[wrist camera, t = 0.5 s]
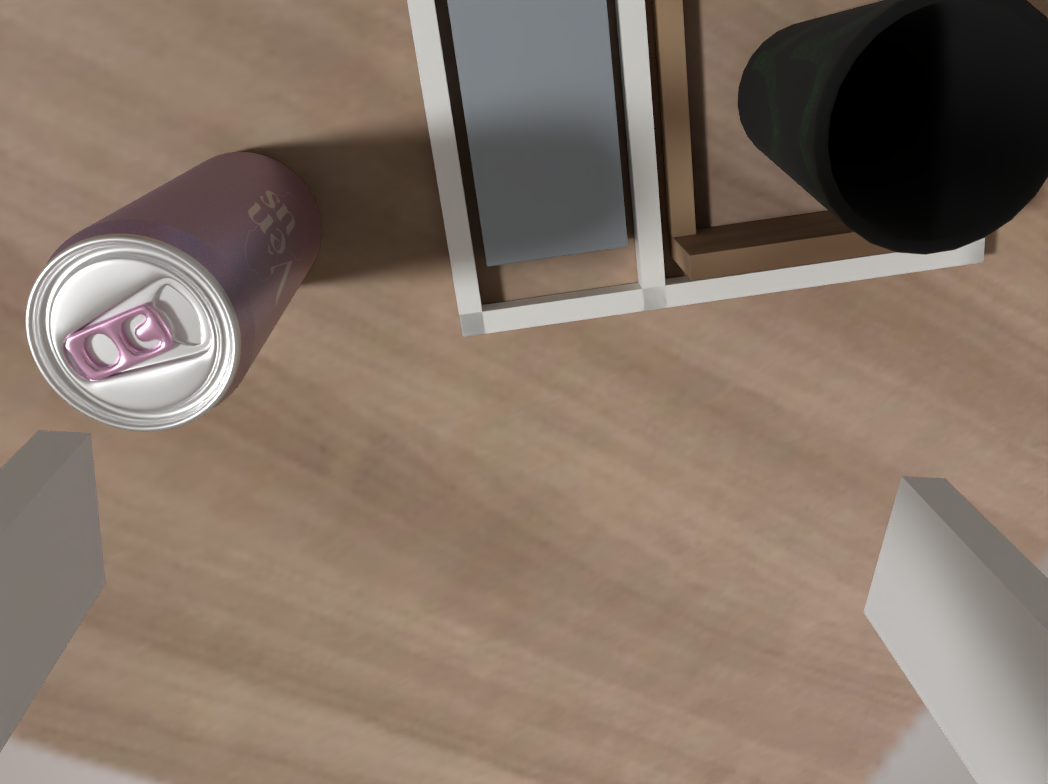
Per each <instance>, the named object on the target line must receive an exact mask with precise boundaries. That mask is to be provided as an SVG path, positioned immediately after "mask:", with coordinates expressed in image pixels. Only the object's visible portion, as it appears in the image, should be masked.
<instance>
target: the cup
mask: <svg viewBox="0 0 1048 784" xmlns="http://www.w3.org/2000/svg"><path fill="white" fill-rule="evenodd" d="M738 109H739V115H740V120H741V123H742V125H743V128H744V130H745V132H746V134H747V136H748V137H749V139H750V140H751V141H752V142H753V143H754V145H755V146H756V147H757V148H758V149H759V150H760V151H761V152H762V153H764V154H765V155H766V156H767V157H768V158H769V159H770V160H772V161H773V162H774V163H775V164H776V165H777V166H778V167H780V168H781V169H782V170H783V171H784V172H785V173H786V174H788V175H789V176H790V177H791V178H792V179H793V180H794V181H796V182H797V183H798V184H799V185H800V186H801V187H802V188H804V189H805V190H806V191H807V192H808V193H809V194H810V195H812V196H813V197H814V198H815V199H816V200H817V201H818V202H820V203H821V204H822V205H823V206H824V207H825V208H826V209H828V210H829V211H830V212H831V213H832V214H833V215H834V216H836V217H837V218H838V219H839V220H840V221H841V222H842V223H844V224H845V225H846V226H847V227H848V228H850V229H851V230H852V231H854V232H855V233H857V234H858V235H860V236H861V237H862V238H864V239H865V240H867V241H868V242H869V243H871V244H874V245H877V246H880V247H883V248H886V249H888V250H891V251H894V252H897V253H910V254H924V255H927V254H933V253H939V252H945V251H951V250H956V249H958V248H961V247H963V246H966V245H968V244H971V243H973V242H975V241H978V240H980V239H983V238H985V237H986V236H988V235H989V234H991V233H992V232H994V231H995V230H997V229H998V228H1000V227H1001V226H1003V225H1004V224H1006V223H1007V222H1009V221H1010V220H1012V219H1013V218H1014V217H1015V216H1016V215H1017V214H1018V213H1019V212H1020V211H1021V210H1022V209H1023V208H1024V207H1025V206H1026V205H1027V204H1028V203H1029V202H1030V201H1031V200H1032V199H1033V198H1034V197H1035V195H1036V194H1037V192H1038V191H1039V189H1040V188H1041V186H1042V185H1043V183H1044V182H1045V180H1046V179H1047V177H1048V19H1047V17H1046V16H1045V15H1043V14H1042V13H1041V12H1040V11H1039V10H1037V9H1036V8H1035V7H1034V6H1033V5H1032V4H1030V3H1029V2H1028V1H1027V0H883V1H880V2H876V3H872V4H868V5H865V6H861V7H857V8H853V9H850V10H846V11H842V12H838V13H835V14H831V15H827V16H823V17H820V18H816V19H812V20H808V21H805V22H801V23H797V24H793V25H791V26H789V27H787V28H784V29H782V30H780V31H778V32H776V33H775V34H774V35H772V36H771V37H770V38H768V39H767V40H766V41H764V42H763V43H762V44H761V46H760V47H759V48H758V49H757V50H756V51H755V53H754V54H753V55H752V56H751V58H750V60H749V62H748V64H747V66H746V68H745V69H744V71H743V75H742V78H741V82H740V85H739V92H738Z"/></svg>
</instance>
